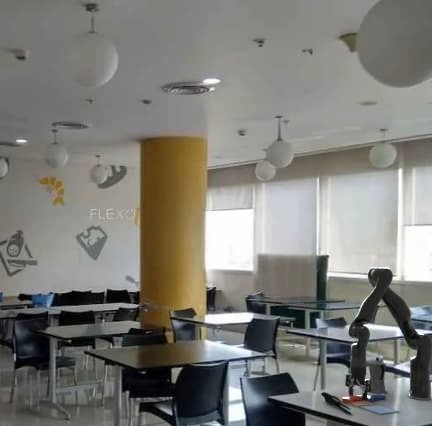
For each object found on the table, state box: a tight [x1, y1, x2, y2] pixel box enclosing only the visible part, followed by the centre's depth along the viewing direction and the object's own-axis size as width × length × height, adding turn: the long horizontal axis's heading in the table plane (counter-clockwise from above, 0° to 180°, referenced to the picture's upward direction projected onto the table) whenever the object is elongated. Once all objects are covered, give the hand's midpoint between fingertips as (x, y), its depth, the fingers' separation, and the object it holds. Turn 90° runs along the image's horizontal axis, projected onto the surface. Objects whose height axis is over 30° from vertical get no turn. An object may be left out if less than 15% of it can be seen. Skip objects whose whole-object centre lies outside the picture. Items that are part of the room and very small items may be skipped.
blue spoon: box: [364, 393, 387, 403], centre depth 311 cm, size 14×5×3 cm, turn 114°
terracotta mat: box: [335, 397, 376, 407], centre depth 306 cm, size 12×14×1 cm
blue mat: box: [359, 404, 399, 415], centre depth 292 cm, size 12×12×1 cm
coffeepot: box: [368, 357, 387, 394], centre depth 330 cm, size 15×9×18 cm, turn 178°
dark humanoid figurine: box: [320, 391, 352, 415], centre depth 294 cm, size 8×9×25 cm
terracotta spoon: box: [341, 394, 363, 404], centre depth 305 cm, size 14×5×3 cm, turn 114°
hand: (357, 398), depth 306 cm, fingers open, 8 cm apart
